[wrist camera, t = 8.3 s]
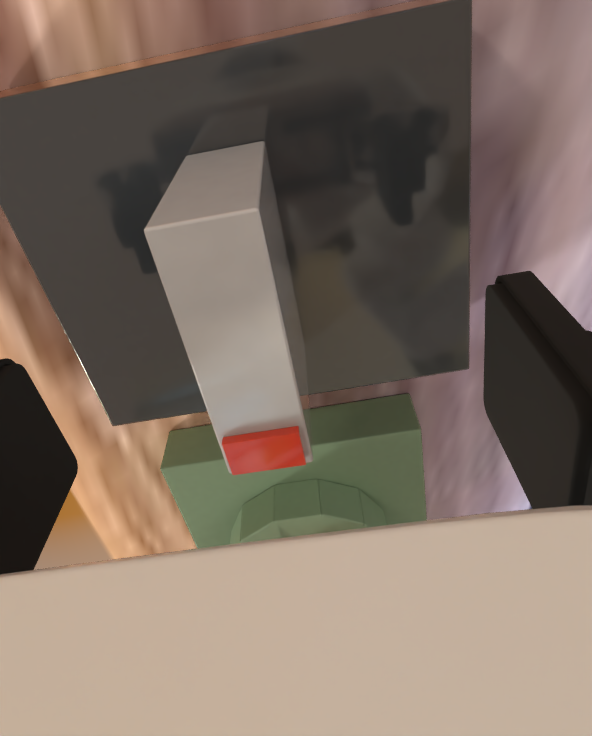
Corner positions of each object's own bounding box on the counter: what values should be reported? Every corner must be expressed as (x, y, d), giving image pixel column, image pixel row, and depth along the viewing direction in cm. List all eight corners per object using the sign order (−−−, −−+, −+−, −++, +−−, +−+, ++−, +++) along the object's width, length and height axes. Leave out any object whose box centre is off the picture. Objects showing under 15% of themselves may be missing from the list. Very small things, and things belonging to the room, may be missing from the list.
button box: (409, 392, 21) (433, 464, 18) (420, 545, 27) (440, 620, 24) (168, 430, 22) (150, 506, 19) (229, 570, 28) (222, 647, 25)
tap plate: (438, -6, 14) (472, -5, 11) (445, 322, 20) (469, 369, 17) (4, 89, 15) (-51, 108, 12) (131, 375, 20) (112, 427, 18)
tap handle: (184, 155, 13) (138, 234, 9) (264, 140, 13) (257, 213, 9) (241, 355, 16) (228, 483, 12) (305, 345, 16) (314, 470, 12)
